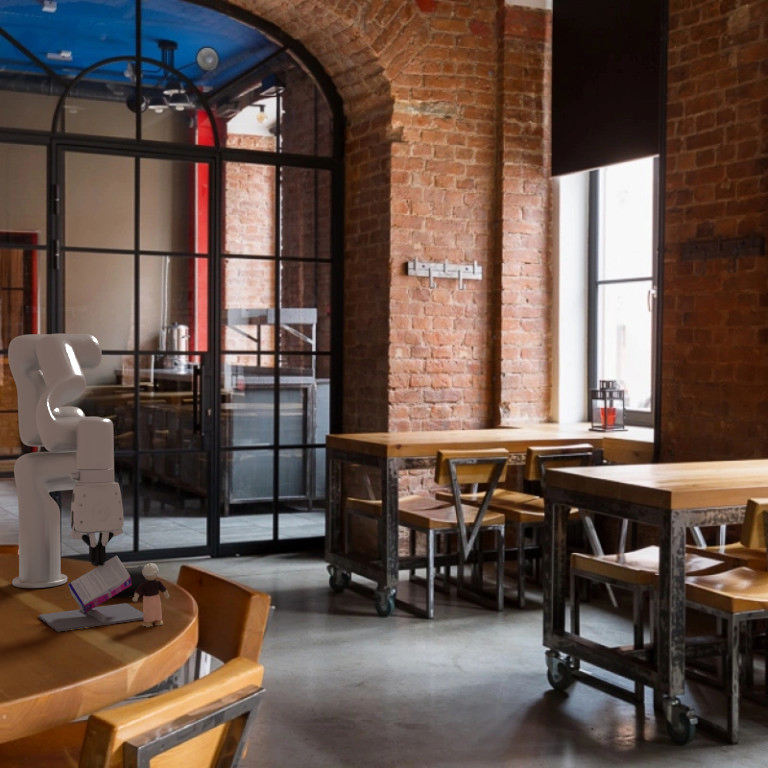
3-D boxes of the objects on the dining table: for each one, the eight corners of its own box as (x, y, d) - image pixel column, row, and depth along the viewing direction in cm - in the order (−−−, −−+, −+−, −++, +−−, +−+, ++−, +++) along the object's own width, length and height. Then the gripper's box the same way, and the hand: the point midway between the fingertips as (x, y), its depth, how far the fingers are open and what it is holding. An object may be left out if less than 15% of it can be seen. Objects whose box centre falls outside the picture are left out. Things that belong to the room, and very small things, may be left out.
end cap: (110, 601, 238) (110, 571, 238) (109, 594, 245) (108, 565, 244) (156, 598, 241) (155, 568, 241) (153, 591, 248) (153, 562, 247)
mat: (38, 617, 223) (38, 609, 223) (126, 605, 233) (126, 597, 233) (58, 632, 211) (58, 623, 211) (149, 619, 221) (149, 610, 221)
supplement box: (81, 606, 217) (130, 575, 221) (66, 583, 219) (115, 553, 223) (85, 615, 222) (132, 584, 226) (70, 593, 224) (118, 563, 228)
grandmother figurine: (161, 620, 221) (161, 559, 221) (171, 623, 218) (171, 562, 218) (128, 626, 216) (128, 564, 215) (139, 630, 213) (138, 567, 212)
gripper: (65, 480, 214) (67, 571, 214) (136, 476, 222) (138, 563, 222) (54, 478, 220) (56, 566, 220) (124, 474, 229) (126, 559, 229)
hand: (97, 564), depth 221 cm, fingers closed
